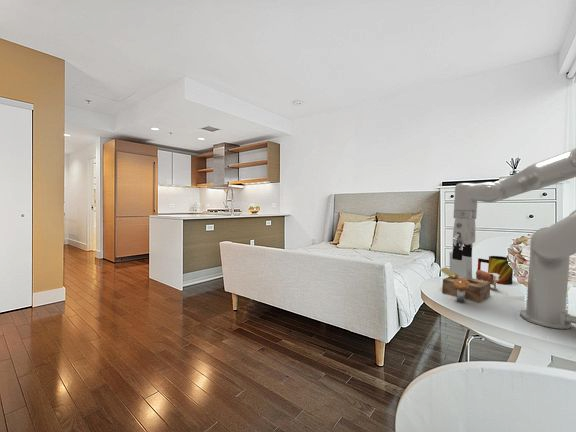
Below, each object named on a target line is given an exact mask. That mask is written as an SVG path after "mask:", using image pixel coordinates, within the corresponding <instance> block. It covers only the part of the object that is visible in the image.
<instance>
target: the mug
mask: <svg viewBox="0 0 576 432" xmlns="http://www.w3.org/2000/svg"><path fill="white" fill-rule="evenodd" d="M507 257H508V256H507ZM507 257H506V256H501V255H500V256H499V255H489V256H488V259H486V258H485V259H484V258H479V257H478V258H477V270H482V269H481V267H482V263H485V264H488V266H487V272H488V273H496V274H499V275H502V277H499V281H497V282H496V283H497V284H498V285H502V286H503V285H506V286H509V285H512V284H513V275H514V273H513V272H514V268H513V269H512V268H511V267H510V266H509V265H508V261H507ZM477 270H476V271H477ZM497 284H496V285H497Z"/></svg>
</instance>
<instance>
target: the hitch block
mask: <svg viewBox="0 0 576 432" xmlns="http://www.w3.org/2000/svg"><path fill="white" fill-rule="evenodd" d="M454 279H464V280H467V281H469V282H470V284H469V290H465V300H469V301H472V302H476V303H479V304H481V303H482V302H483V301H485V300H486V299H488V298H489V297H491V285H490V284H491V282H487V281H483V280H478V279H476V278H473V277H472V278H468V277H463V276H458V277H456V278H454ZM454 279H452V278H451V277H450V276H446V277H445V278H443V279H442V288H441V289H442V291H441V292H442V293H443V294H444V295H449V296H452V297H456V298H457V289H456V288H454Z"/></svg>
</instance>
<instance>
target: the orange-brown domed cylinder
mask: <svg viewBox="0 0 576 432" xmlns="http://www.w3.org/2000/svg"><path fill="white" fill-rule="evenodd" d="M469 284H470V282H469V281H467V280H464V279H454V288H456V289H457V297H456V302H457V303H460V304H465V303H466V299H465V290H469Z"/></svg>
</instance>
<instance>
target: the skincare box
mask: <svg viewBox="0 0 576 432" xmlns="http://www.w3.org/2000/svg"><path fill="white" fill-rule="evenodd" d="M452 255H453V250H452V251H449V270H451V271H452V272H454V273H456V274H458V276H463V277H468V278H473V256H472V257H466V256H462V260H455V259H452Z"/></svg>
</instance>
